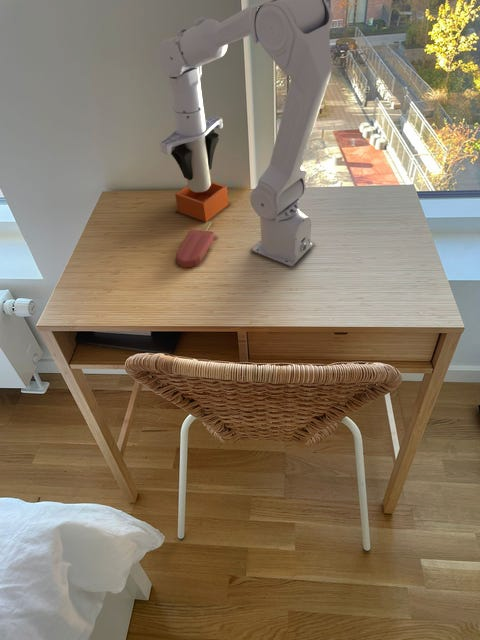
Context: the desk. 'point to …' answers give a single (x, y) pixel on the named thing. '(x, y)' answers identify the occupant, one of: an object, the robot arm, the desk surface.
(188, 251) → the popsicle
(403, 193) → the desk surface
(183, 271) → the desk surface
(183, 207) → the orange open box
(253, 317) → the desk surface
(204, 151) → the beverage can
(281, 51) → the robot arm
